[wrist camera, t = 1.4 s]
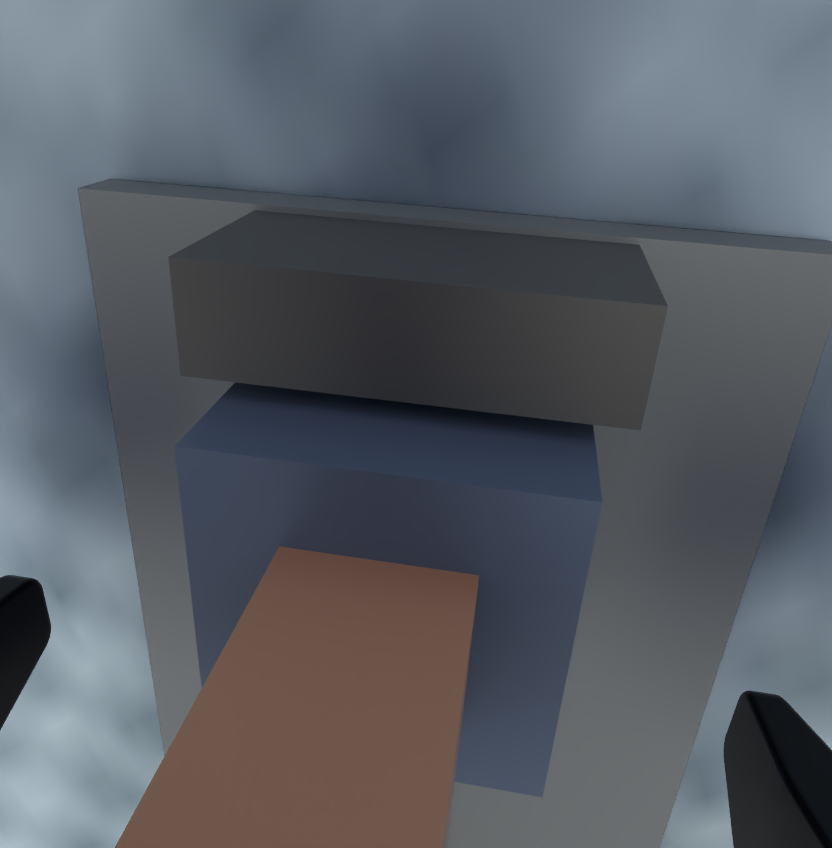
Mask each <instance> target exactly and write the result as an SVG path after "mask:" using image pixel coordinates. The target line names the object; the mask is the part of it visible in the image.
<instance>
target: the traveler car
mask: <svg viewBox="0 0 832 848" xmlns="http://www.w3.org/2000/svg"><path fill="white" fill-rule="evenodd" d="M174 447H175V456H176V465H177V474H178V483H179V492H180V501H181V510H182V518H183V527H184V536H185V545H186V554H187V563H188V572H189V581H190V590H191V599H192V608H193V617H194V626H195V635H196V643H197V652H198V661H199V670H200V679H201V688H202V689H201V691H200V693H199V694H198V696H197V698H196V700H195V702H194V704H193V705H192V707H191V709H190V711H189V713H188V715H187V716H186V718H185V720H184V722H183V724H182V726H181V727H180V729H179V731H178V733H177V735H176V737H175V738H174V740H173V742H172V744H171V746H170V748H169V749H168V751H167V753H166V755H165V757H164V759H163V760H162V762H161V764H160V766H159V768H158V770H157V771H156V773H155V775H154V777H153V779H152V781H151V782H150V784H149V786H148V788H147V790H146V792H145V793H144V795H143V797H142V799H141V801H140V803H139V804H138V806H137V808H136V810H135V812H134V814H133V815H132V817H131V819H130V821H129V823H128V825H127V826H126V828H125V830H124V832H123V834H122V836H121V837H120V839H119V841H118V843H117V845H116V847H115V848H446V842H447V834H448V826H449V819H450V811H451V803H452V796H453V788H454V782H459V783H464V784H470V785H475V786H481V787H487V788H492V789H498V790H503V791H509V792H515V793H520V794H526V795H531V796H537V797H542V798H543V793H544V788H545V783H546V778H547V773H548V768H549V763H550V758H551V753H552V748H553V743H554V738H555V733H556V728H557V723H558V718H559V714H560V709H561V704H562V699H563V694H564V689H565V684H566V679H567V674H568V669H569V664H570V659H571V654H572V649H573V644H574V639H575V634H576V629H577V624H578V619H579V615H580V610H581V605H582V600H583V595H584V590H585V585H586V580H587V575H588V570H589V565H590V560H591V555H592V550H593V545H594V540H595V535H596V530H597V525H598V520H599V516H600V511H601V506H602V497H601V488H600V479H599V471H598V462H597V453H596V445H595V436H594V428H593V425H590V424H582V423H573V422H565V421H557V420H548V419H540V418H531V417H523V416H514V415H506V414H498V413H489V412H481V411H472V410H464V409H455V408H447V407H439V406H430V405H422V404H413V403H405V402H396V401H388V400H380V399H371V398H363V397H354V396H346V395H337V394H329V393H321V392H312V391H304V390H295V389H287V388H278V387H270V386H262V385H253V384H245V383H236V382H235V383H234V384H233V385H232V386H231V387H230V388H229V389H228V390H227V391H226V393H225V394H224V395H223V396H222V397H221V398H220V399H219V400H218V401H217V402H216V403H215V404H214V405H213V406H212V407H211V408H210V409H209V410H208V412H207V413H206V414H205V415H204V416H203V417H202V418H201V419H200V420H199V421H198V422H197V423H196V424H195V425H194V426H193V427H192V428H191V429H190V430H189V432H188V433H187V434H186V435H185V436H184V437H183V438H182V439H181V440H180V441H179V442H178V443H177V444H176V445H175V446H174Z"/></svg>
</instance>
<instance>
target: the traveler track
mask: <svg viewBox="0 0 832 848" xmlns="http://www.w3.org/2000/svg"><path fill="white" fill-rule="evenodd" d="M78 193H79V200H80V206H81V213H82V219H83V226H84V232H85V239H86V246H87V252H88V259H89V265H90V272H91V278H92V285H93V291H94V298H95V304H96V311H97V317H98V324H99V331H100V337H101V344H102V350H103V357H104V363H105V370H106V376H107V383H108V389H109V396H110V402H111V409H112V416H113V422H114V429H115V435H116V442H117V448H118V455H119V461H120V468H121V474H122V481H123V487H124V494H125V501H126V507H127V514H128V520H129V527H130V533H131V540H132V546H133V553H134V559H135V566H136V572H137V579H138V586H139V592H140V599H141V605H142V612H143V618H144V625H145V631H146V638H147V644H148V651H149V658H150V664H151V671H152V677H153V684H154V690H155V697H156V703H157V710H158V716H159V723H160V729H161V736H162V743H163V749H164V756H165V755H166V753H167V751H168V749H169V748H170V746H171V744H172V742H173V740H174V738H175V737H176V735H177V733H178V731H179V729H180V727H181V726H182V724H183V722H184V720H185V718H186V716H187V715H188V713H189V711H190V709H191V707H192V705H193V704H194V702H195V700H196V698H197V696H198V694H199V693H200V691H201V689H202V688H201V679H200V670H199V661H198V652H197V643H196V635H195V626H194V617H193V608H192V599H191V590H190V581H189V572H188V563H187V554H186V545H185V536H184V527H183V518H182V510H181V501H180V492H179V483H178V474H177V465H176V456H175V447H174V446H175V445H176V444H177V443H178V442H179V441H180V440H181V439H182V438H183V437H184V436H185V435H186V434H187V433H188V432H189V430H190V429H191V428H192V427H193V426H194V425H195V424H196V423H197V422H198V421H199V420H200V419H201V418H202V417H203V416H204V415H205V414H206V413H207V412H208V410H209V409H210V408H211V407H212V406H213V405H214V404H215V403H216V402H217V401H218V400H219V399H220V398H221V397H222V396H223V395H224V394H225V393H226V391H227V390H228V389H229V388H230V387H231V386H232V385H233V384H234V383H235V382H236V383H245V384H253V385H262V386H270V387H278V388H287V389H295V390H304V391H312V392H321V393H329V394H337V395H346V396H354V397H363V398H371V399H380V400H388V401H396V402H405V403H413V404H422V405H430V406H439V407H447V408H455V409H464V410H472V411H481V412H489V413H498V414H506V415H514V416H523V417H531V418H540V419H548V420H557V421H565V422H573V423H582V424H590V425H593V428H594V436H595V445H596V453H597V462H598V471H599V479H600V488H601V497H602V506H601V511H600V516H599V520H598V525H597V530H596V535H595V540H594V545H593V550H592V555H591V560H590V565H589V570H588V575H587V580H586V585H585V590H584V595H583V600H582V605H581V610H580V615H579V619H578V624H577V629H576V634H575V639H574V644H573V649H572V654H571V659H570V664H569V669H568V674H567V679H566V684H565V689H564V694H563V699H562V704H561V709H560V714H559V718H558V723H557V728H556V733H555V738H554V743H553V748H552V753H551V758H550V763H549V768H548V773H547V778H546V783H545V788H544V793H543V798H542V797H537V796H531V795H526V794H520V793H515V792H509V791H503V790H498V789H492V788H487V787H481V786H475V785H470V784H464V783H459V782H454V788H453V796H452V803H451V811H450V819H449V826H448V834H447V842H446V848H659V847H660V844H661V841H662V838H663V835H664V832H665V829H666V826H667V823H668V820H669V817H670V814H671V810H672V807H673V804H674V801H675V798H676V795H677V792H678V789H679V786H680V783H681V780H682V777H683V774H684V771H685V768H686V765H687V762H688V759H689V756H690V753H691V750H692V747H693V744H694V741H695V738H696V735H697V732H698V728H699V725H700V722H701V719H702V716H703V713H704V710H705V707H706V704H707V701H708V698H709V695H710V692H711V689H712V686H713V683H714V680H715V677H716V674H717V671H718V668H719V665H720V662H721V659H722V656H723V653H724V650H725V646H726V643H727V640H728V637H729V634H730V631H731V628H732V625H733V622H734V619H735V616H736V613H737V610H738V607H739V604H740V601H741V598H742V595H743V592H744V589H745V586H746V583H747V580H748V577H749V574H750V571H751V568H752V564H753V561H754V558H755V555H756V552H757V549H758V546H759V543H760V540H761V537H762V534H763V531H764V528H765V525H766V522H767V519H768V516H769V513H770V510H771V507H772V504H773V501H774V498H775V495H776V492H777V489H778V486H779V482H780V479H781V476H782V473H783V470H784V467H785V464H786V461H787V458H788V455H789V452H790V449H791V446H792V443H793V440H794V437H795V434H796V431H797V428H798V425H799V422H800V419H801V416H802V413H803V410H804V407H805V404H806V400H807V397H808V394H809V391H810V388H811V385H812V382H813V379H814V376H815V373H816V370H817V367H818V364H819V361H820V358H821V355H822V352H823V349H824V346H825V343H826V340H827V337H828V334H829V331H830V328H831V325H832V242H831V241H823V240H812V239H800V238H788V237H777V236H765V235H754V234H742V233H730V232H719V231H707V230H696V229H684V228H673V227H661V226H649V225H638V224H626V223H615V222H603V221H591V220H580V219H568V218H557V217H545V216H534V215H522V214H510V213H499V212H487V211H476V210H464V209H452V208H441V207H429V206H418V205H406V204H395V203H383V202H371V201H360V200H348V199H337V198H325V197H313V196H302V195H290V194H279V193H267V192H255V191H244V190H232V189H221V188H209V187H198V186H186V185H174V184H163V183H151V182H140V181H128V180H116V179H108V180H105V181H101V182H98V183H94V184H91V185H87V186H84V187H81V188H78Z"/></svg>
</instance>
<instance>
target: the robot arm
mask: <svg viewBox="0 0 832 848" xmlns="http://www.w3.org/2000/svg"><path fill="white" fill-rule="evenodd" d="M50 633H51V623H50V619H49V614H48V610H47V605H46V601H45V597H44V592H43V588H42V585H41V584H40V583H39V582H38V580H36V579H33V578H27V577H21V576H15V575H7V576H3V577H1V578H0V730H1V728H2V726H3V724H4V722H5V721H6V719H7V717H8V715H9V713H10V711H11V710H12V708H13V706H14V704H15V702H16V700H17V699H18V697H19V695H20V693H21V691H22V689H23V688H24V686H25V684H26V682H27V680H28V678H29V677H30V675H31V673H32V671H33V669H34V668H35V666H36V664H37V662H38V660H39V658H40V657H41V655H42V653H43V651H44V649H45V647H46V645H47V643H48V641H49V638H50ZM724 763H725V772H726V781H727V790H728V799H729V808H730V817H731V827H732V836H733V845H734V848H832V750H831V749H830V748H829V747H828V746H827V745H826V743H825V742H824V741H823V740H822V739H821V738H820V737H819V736H818V735H817V734H816V733H815V732H814V731H813V729H812V728H811V727H810V726H809V725H808V724H807V723H806V722H805V721H804V720H803V719H802V718H801V717H800V715H799V714H798V713H797V712H796V711H795V710H794V709H793V708H792V707H791V706H790V705H789V704H788V703H787V702H786V701H785V700H784V699H783V698H782V697H780V696H778V695H775V694H768V693H762V692H756V691H745V692H743V693H742V695H741V696H740V698H739V700H738V703H737V706H736V708H735V711H734V714H733V717H732V720H731V722H730V725H729V728H728V731H727V734H726V737H725V742H724Z"/></svg>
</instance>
